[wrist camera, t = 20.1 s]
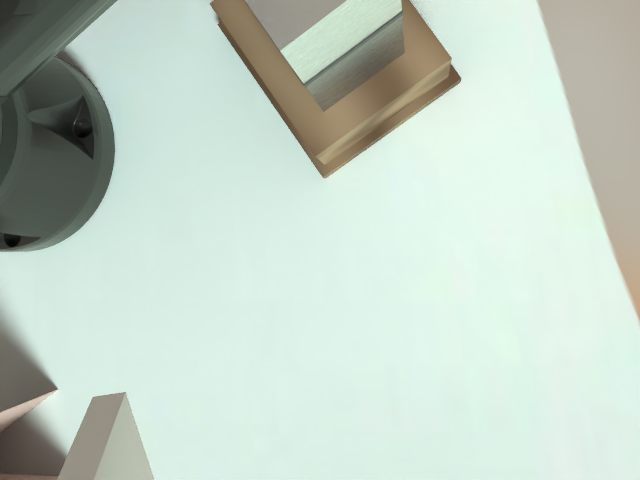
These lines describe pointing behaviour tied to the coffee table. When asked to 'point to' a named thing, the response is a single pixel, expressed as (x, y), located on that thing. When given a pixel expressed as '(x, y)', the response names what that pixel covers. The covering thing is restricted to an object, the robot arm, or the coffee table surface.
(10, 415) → the greeting card
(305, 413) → the coffee table surface
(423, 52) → the walnut stand
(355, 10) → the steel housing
